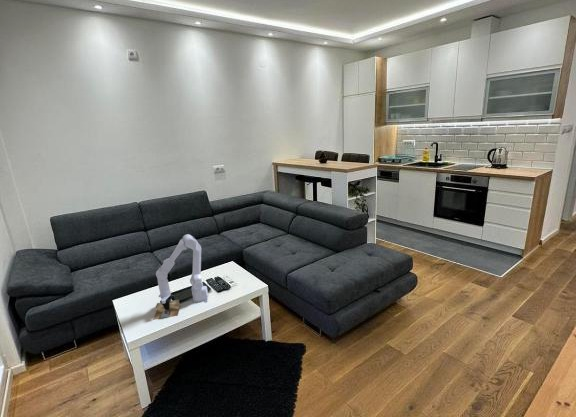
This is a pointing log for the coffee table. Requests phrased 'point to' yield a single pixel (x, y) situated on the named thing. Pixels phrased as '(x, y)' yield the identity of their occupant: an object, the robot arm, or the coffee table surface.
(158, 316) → the board
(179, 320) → the coffee table surface
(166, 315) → the gray stepped block
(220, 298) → the coffee table surface
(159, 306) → the beech bar
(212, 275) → the coffee table surface
